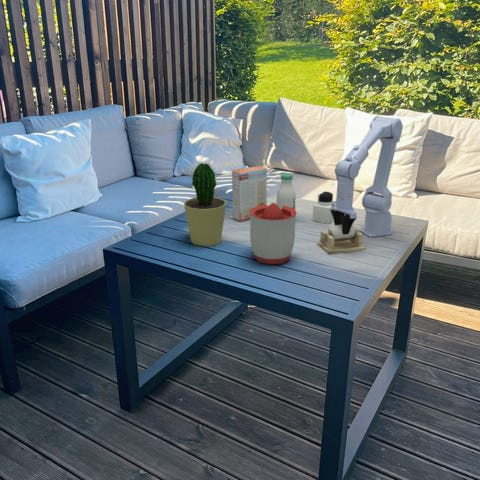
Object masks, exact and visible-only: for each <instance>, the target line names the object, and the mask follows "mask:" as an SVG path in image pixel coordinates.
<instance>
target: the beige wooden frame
mask: <svg viewBox="0 0 480 480" xmlns="http://www.w3.org/2000/svg"><path fill="white" fill-rule="evenodd" d="M319 238H320V239H319V240H318V241H317V242H316V245H318V246H319V247H320V248H321V249H322V250H323V251H324V252H326V253H327V254H328V255H335V254H336V255H337V254H343V253H345V254H346V253H351V252H359V251H365V250H366V247H365V246H364V245H363V242H364V233H362V232H361V231H358V230H357V229H355V234H354V236H353V237H350V238H342V239H334V238H333V237H332V236H331V235H329V234H328V231H326V230H321V231H320V236H319Z"/></svg>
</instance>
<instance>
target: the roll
mask: <svg viewBox="0 0 480 480" xmlns="http://www.w3.org/2000/svg"><path fill="white" fill-rule="evenodd" d="M355 230H356V229H355V225H354V223H353V224H352V226H351V229H350V232H349V234H345V235H343V233H342V225H335V224H333V225H329V226H328V227H327V233H328V234H329V235H331V236H332V237H333V238H334V239H342V238H350V237H353V236H354V234H355Z"/></svg>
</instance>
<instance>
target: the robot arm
mask: <svg viewBox="0 0 480 480" xmlns="http://www.w3.org/2000/svg"><path fill="white" fill-rule="evenodd" d="M403 126H404V125H403V122H402V120H401V119H400V118H393V117H386V116H385V117H384V116H380V115H376V116H374V117H373V118H372V120H371V121H370V123H369V130H368V132H367V133H366V135H365V136H364V138H363V139H362V141H361V143H360V144H356V145H354V146H353V148H352V149H351V150H350V151H349V153H348V154H347V155H346V156H345V158H344V159H341V160H339V161H338V162H337V163H336V165H335V168H334V174H335V180H336V181H337V184H336V198H335V200H332V207H333V209H332V210H331V213H332V216H333V219H334V220H333V223H334V224H333V225H342V233H343V235H345V234H349V232H350V229H351V226H352V224H353V225H354V222H355V221H356V220H357V214H358V213H357V212H356V211H355V209H354V207H353V204H354V203H353V202H354V192H355V180H356V179H357V177H358V176H359V173H360V170H361V167H362V165H363V163H364V162H365V161H366V160H367V158H368V156H369V155H370V154H369V150H370V149H372V147H373V146H374V145H375V144H376V143H377V142H378V141H380V143H381V147H380V152H379V155H378V160H377V164H376V169H375V174H374V179H373V183H372V185H370V186H369V187H367V188H366V189H365V191H364V195H363V197H362V198H361V203H362V204H361V205H362V207H364V211H365V216H364V217H365V219H364V228H360V229H359V232H361V233H362V234H365V235H366V236H368V237H369V238H373V237H381V236H389V235H392V232H391V228H392V219H393V218H392V213H391V212H390V209H391V207H392V201H393V200H392V197H393V193H392V191H391V190H390V189H389V188H388V182H389V179H390V174H391V171H392V165H393V162H394V161H393V160H394V158H395V152H396V148H397V144H398V143H400V141H401V136H402V132H403V128H404V127H403Z"/></svg>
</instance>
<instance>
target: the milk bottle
mask: <svg viewBox="0 0 480 480" xmlns="http://www.w3.org/2000/svg"><path fill="white" fill-rule="evenodd" d="M293 179H294V176H293V174H291V173H282V174H281V175H280V181H281V183H280V185H279V187H278V190H277V192H276V202H275V204H276V205H277V206H278V207H279V208H280V209H281V208H282V207H283V206H288V207H291V208H293V209H294V210H296V191H295V188H294V186H293Z"/></svg>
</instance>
